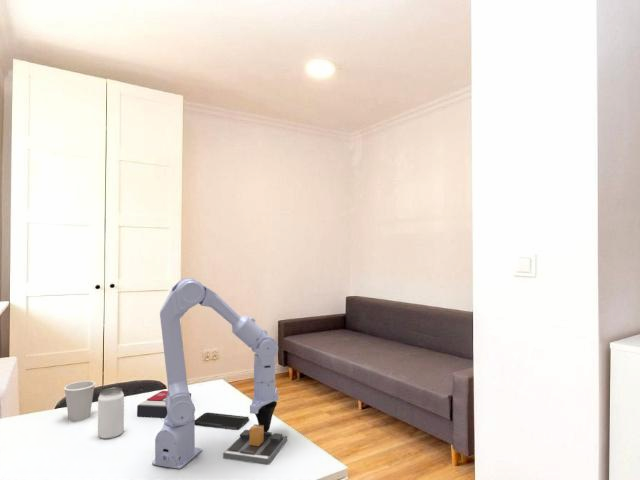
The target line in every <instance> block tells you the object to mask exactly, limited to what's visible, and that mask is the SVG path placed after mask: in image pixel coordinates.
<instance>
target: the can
mask: <svg viewBox="0 0 640 480" xmlns="http://www.w3.org/2000/svg"><path fill="white" fill-rule="evenodd" d="M124 426H125V393H124V391H123V388H121V387H110V388H106V389H102V390H101V391H100V392H99V396H98V398H97V436H98V437H99V438H100V439H103V440H110V439H114V438H117V437H120V436H121V435H122V434H123V433H124V431H125V430H124V428H125V427H124Z"/></svg>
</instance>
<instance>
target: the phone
mask: <svg viewBox="0 0 640 480" xmlns="http://www.w3.org/2000/svg"><path fill="white" fill-rule="evenodd" d="M249 421H250V419H249V416H242V415H234V414H233V415H232V414H226V413H225V414H224V413H218V412H217V413H216V412H204V413H203V414H202V415H200V416H198V417H197V418H195V426H198V427H206V428H214V429H215V428H216V429H222V430H231V431H239V430H241V429H242V428H243V427H244V426H245V425H246V424H247V423H248V422H249Z"/></svg>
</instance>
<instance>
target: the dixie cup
mask: <svg viewBox="0 0 640 480" xmlns="http://www.w3.org/2000/svg"><path fill="white" fill-rule="evenodd" d="M95 386H96V382H95V381H92V380H80V381H75V382H71V383H68V384H66V385H65V386H64V387H63V390H64V393H65V403H66V408H67V410H66V411H67V417H68V421H69V422H81V421H85V420H87V419H89V418H90V417H91V412H92V404H93V398H94V390H95Z"/></svg>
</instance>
